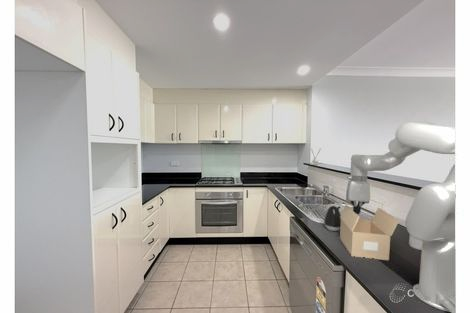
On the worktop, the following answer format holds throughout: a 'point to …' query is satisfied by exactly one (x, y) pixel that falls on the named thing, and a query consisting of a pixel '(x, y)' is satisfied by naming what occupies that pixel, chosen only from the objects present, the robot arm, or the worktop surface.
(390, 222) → the right flap
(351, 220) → the left flap
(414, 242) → the milk bottle
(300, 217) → the worktop surface
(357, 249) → the carton
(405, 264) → the worktop surface
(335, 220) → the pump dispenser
